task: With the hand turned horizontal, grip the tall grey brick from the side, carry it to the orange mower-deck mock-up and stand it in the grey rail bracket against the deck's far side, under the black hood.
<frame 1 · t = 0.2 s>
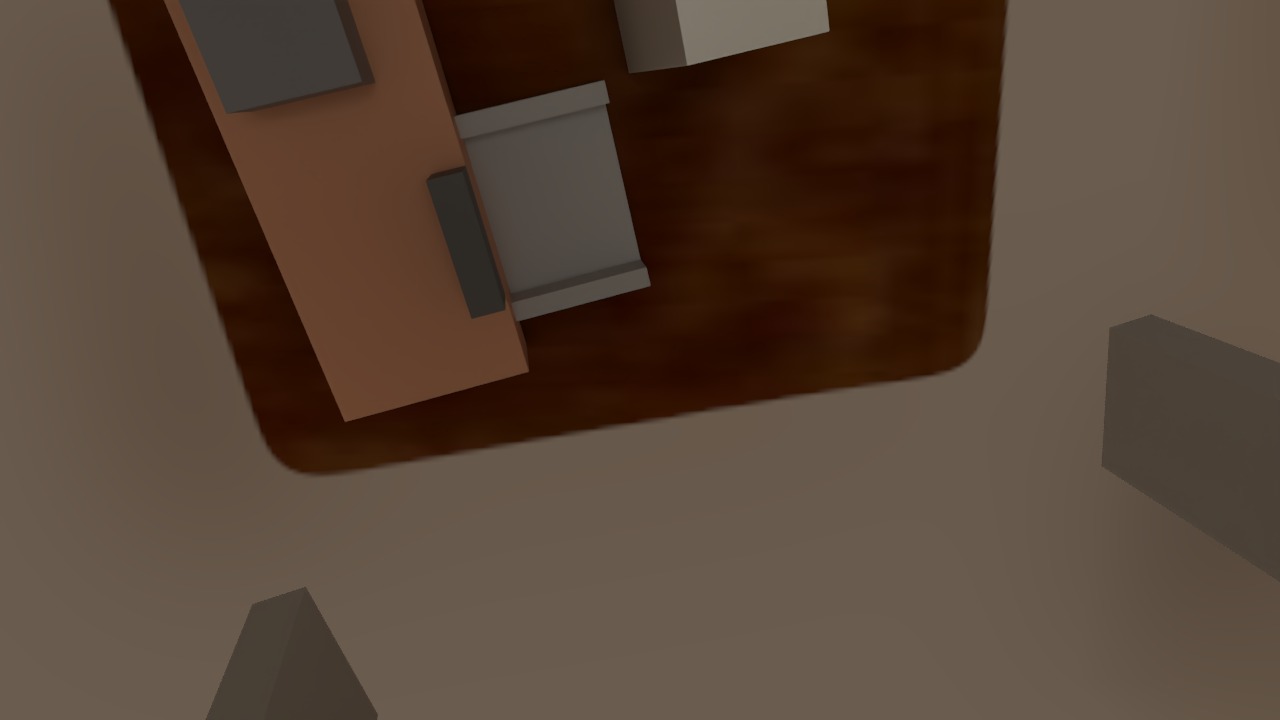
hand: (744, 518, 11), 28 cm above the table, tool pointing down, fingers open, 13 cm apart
deck: (370, 159, 34), on the table
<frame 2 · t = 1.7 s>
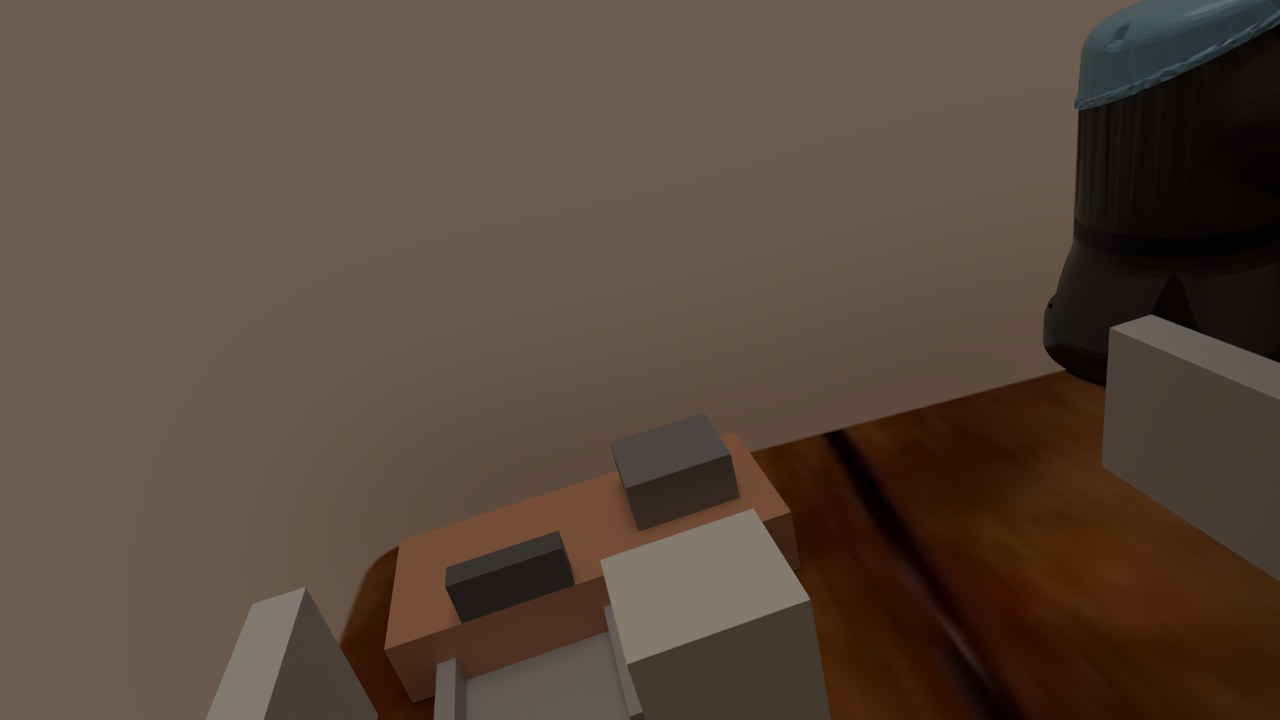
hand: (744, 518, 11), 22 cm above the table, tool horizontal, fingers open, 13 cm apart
deck: (599, 579, 43), on the table
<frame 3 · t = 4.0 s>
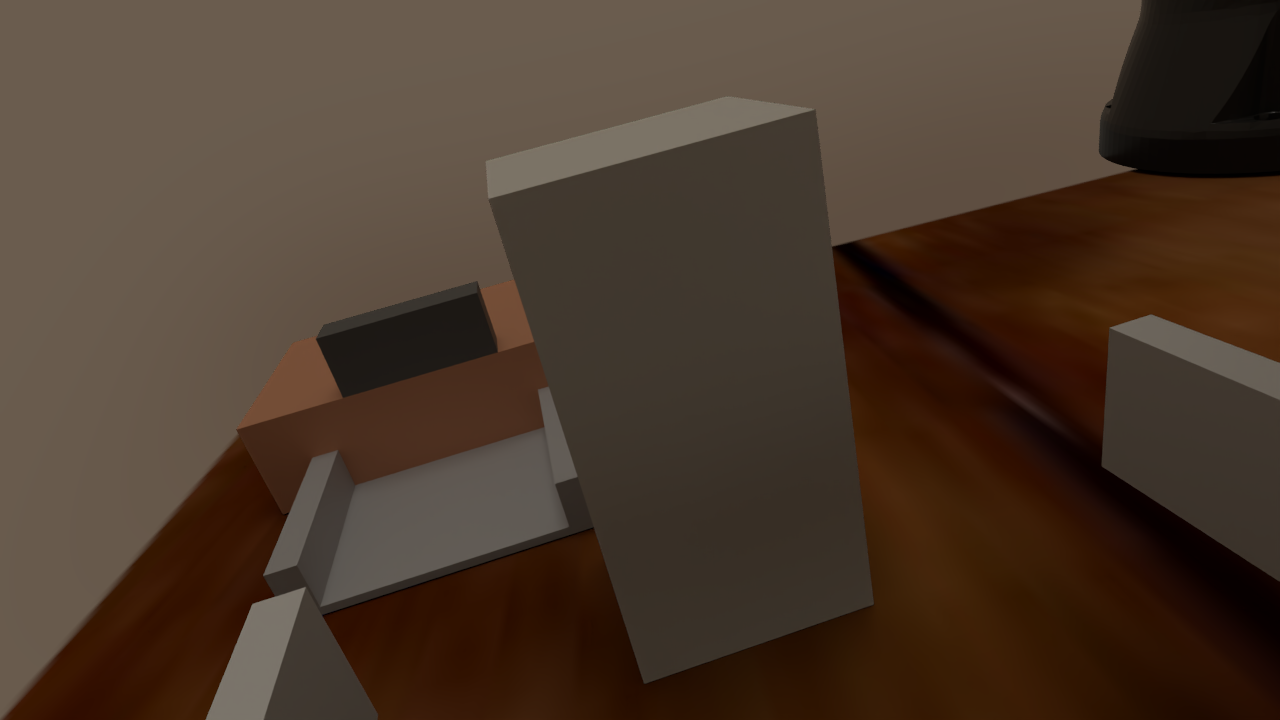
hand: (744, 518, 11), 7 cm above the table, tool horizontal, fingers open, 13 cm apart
tall grey brick: (728, 576, 20), on the table
deck: (542, 386, 33), on the table
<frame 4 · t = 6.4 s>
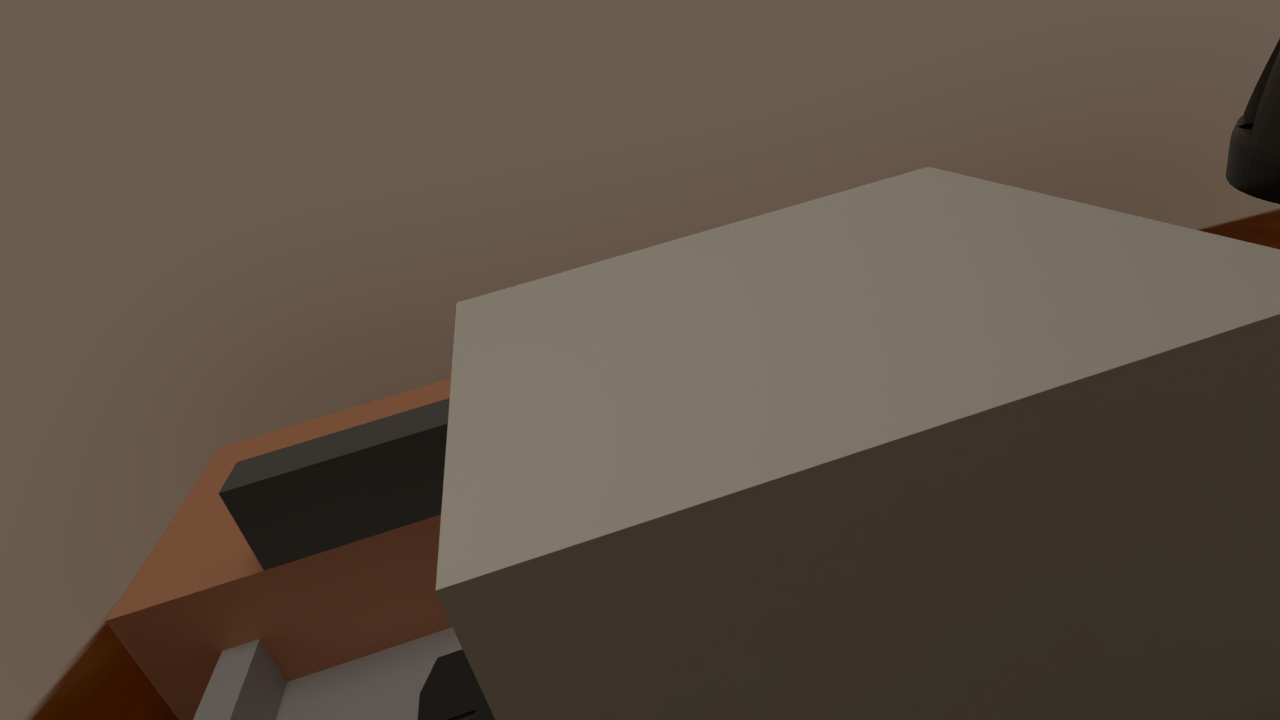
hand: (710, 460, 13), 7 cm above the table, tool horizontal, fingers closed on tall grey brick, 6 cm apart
deck: (550, 510, 25), on the table
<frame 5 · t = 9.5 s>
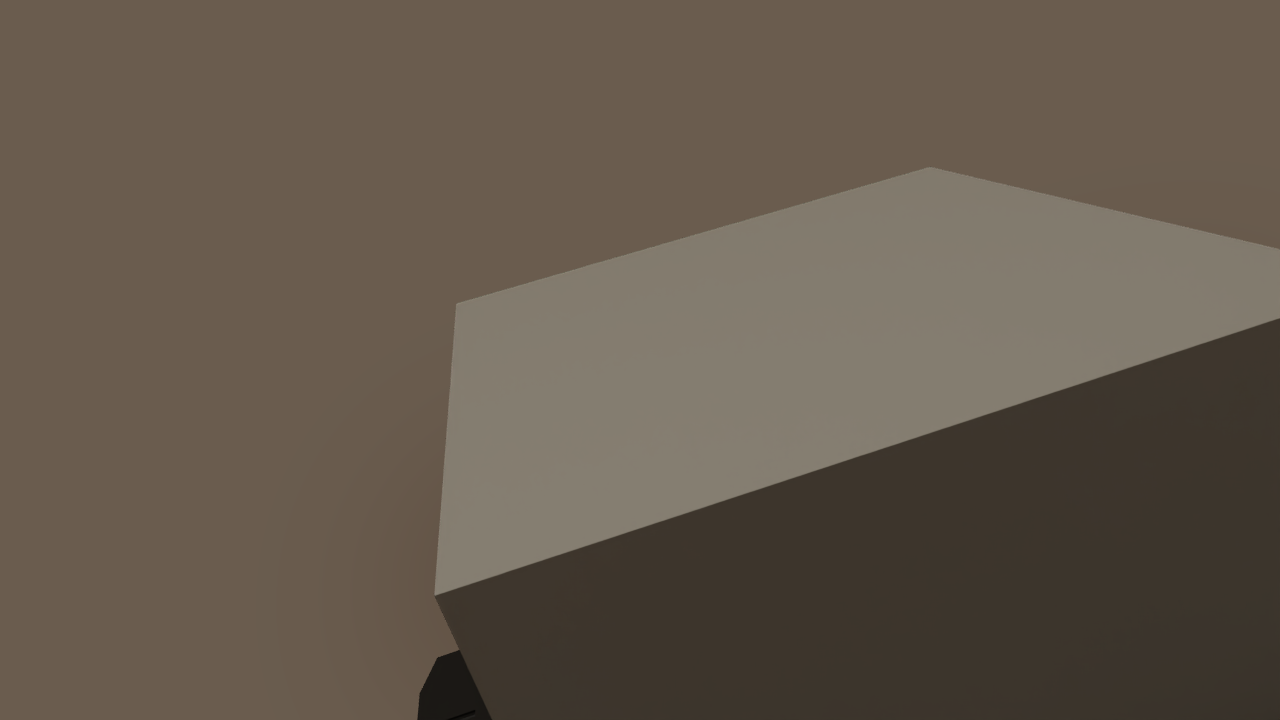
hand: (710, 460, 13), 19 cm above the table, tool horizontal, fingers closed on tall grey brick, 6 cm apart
when the fingers open (8 cm above the table, at t = 12.5 s): tall grey brick stays where it is, resting on deck.
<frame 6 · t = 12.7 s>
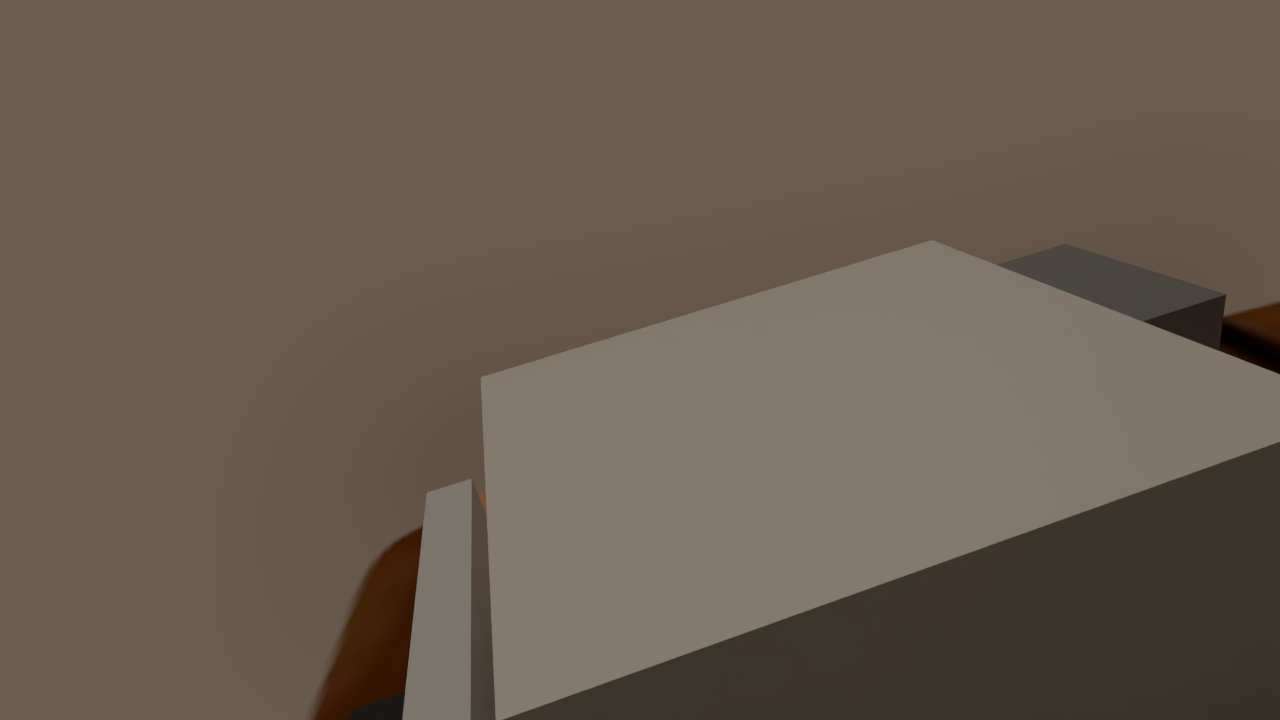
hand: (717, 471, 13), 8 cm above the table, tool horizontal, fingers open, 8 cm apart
deck: (855, 587, 20), on the table
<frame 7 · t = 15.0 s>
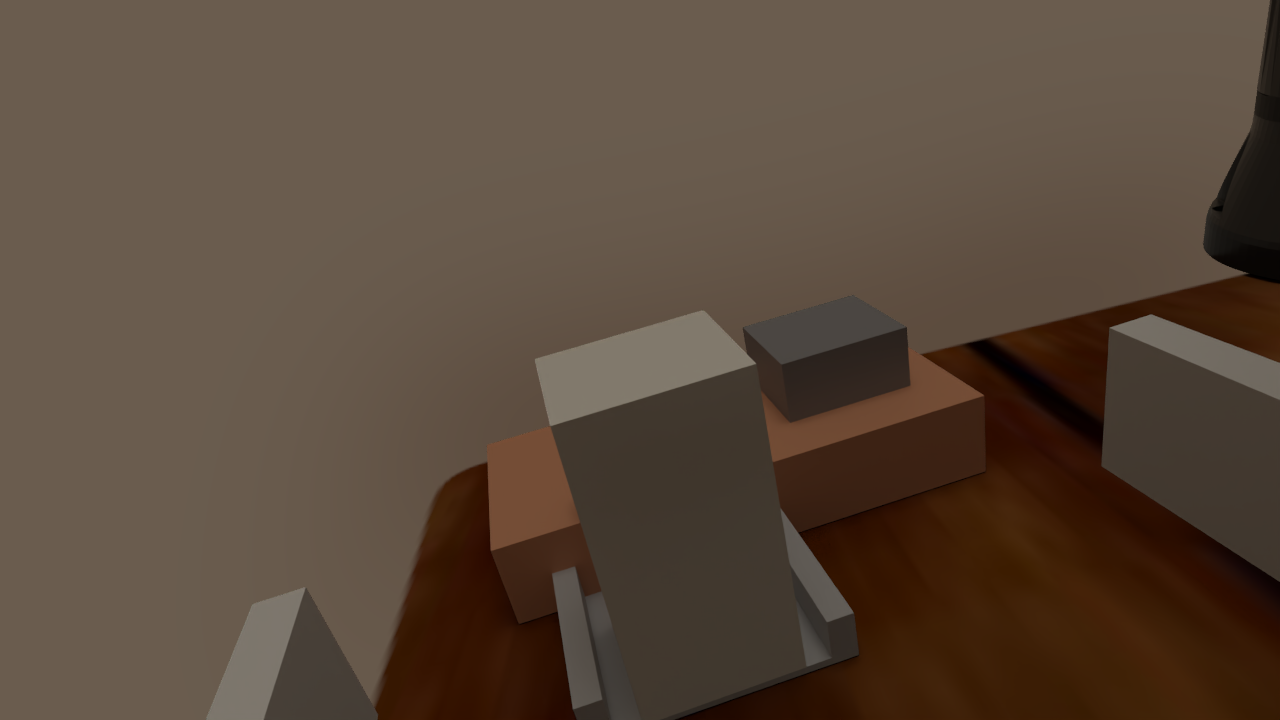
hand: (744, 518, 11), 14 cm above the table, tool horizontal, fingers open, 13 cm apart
tall grey brick: (704, 643, 27), resting on deck
deck: (728, 490, 36), on the table
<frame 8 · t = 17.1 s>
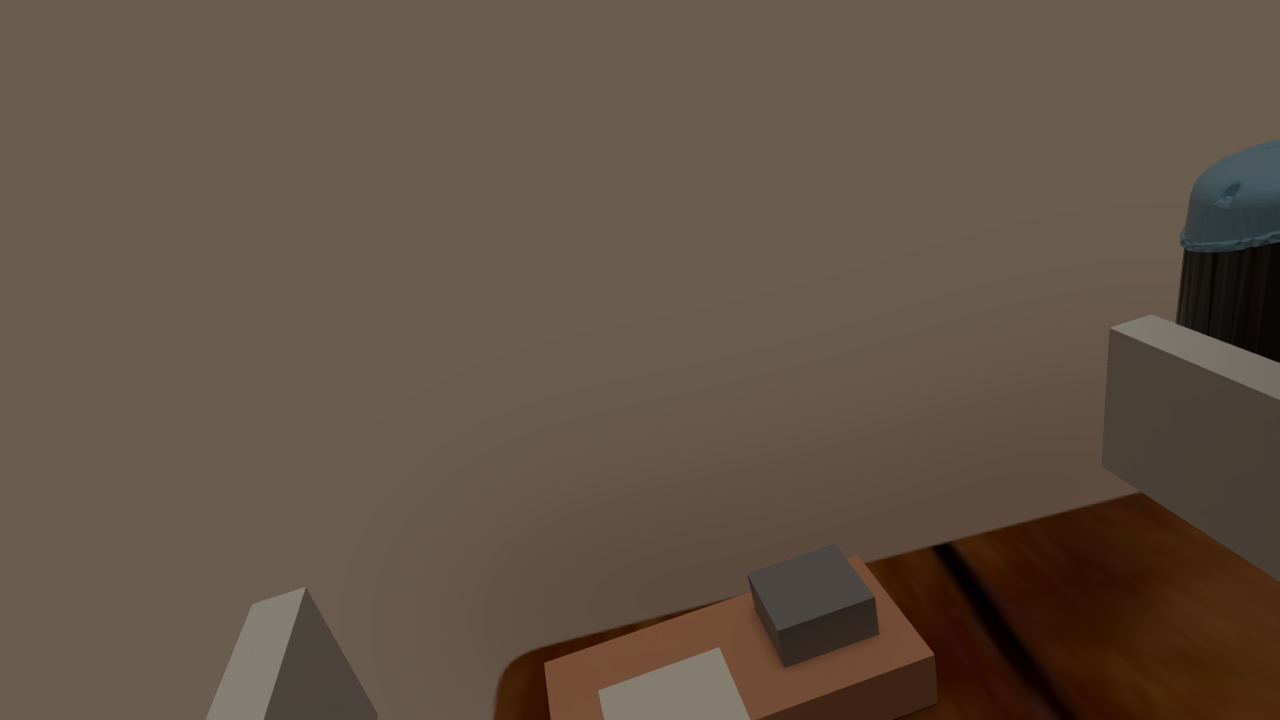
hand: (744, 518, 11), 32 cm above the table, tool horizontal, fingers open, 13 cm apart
deck: (737, 703, 45), on the table
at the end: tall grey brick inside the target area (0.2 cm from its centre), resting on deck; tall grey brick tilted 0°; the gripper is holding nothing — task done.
